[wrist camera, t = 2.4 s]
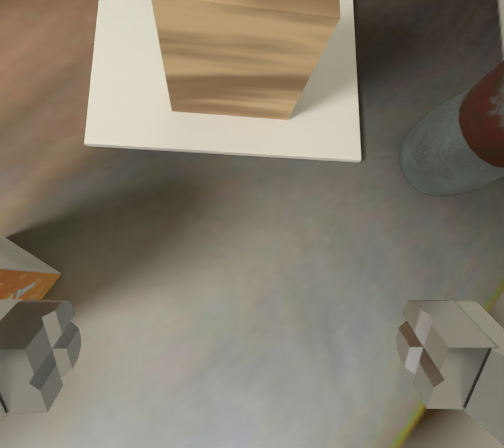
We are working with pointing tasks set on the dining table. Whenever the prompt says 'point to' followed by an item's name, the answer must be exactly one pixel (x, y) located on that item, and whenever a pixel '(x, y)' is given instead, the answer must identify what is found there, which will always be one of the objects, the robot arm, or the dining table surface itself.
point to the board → (209, 125)
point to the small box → (23, 273)
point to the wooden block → (241, 53)
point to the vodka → (459, 141)
